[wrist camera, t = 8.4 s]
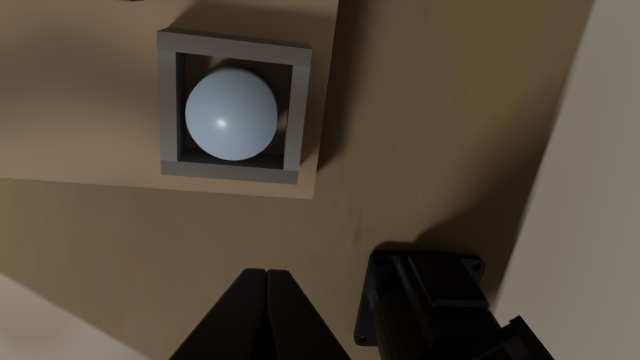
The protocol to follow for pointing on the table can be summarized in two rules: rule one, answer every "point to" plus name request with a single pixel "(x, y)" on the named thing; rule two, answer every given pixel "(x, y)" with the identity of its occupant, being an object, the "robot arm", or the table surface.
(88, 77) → the console
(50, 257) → the table surface
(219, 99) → the slate blue button
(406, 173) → the table surface
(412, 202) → the table surface
